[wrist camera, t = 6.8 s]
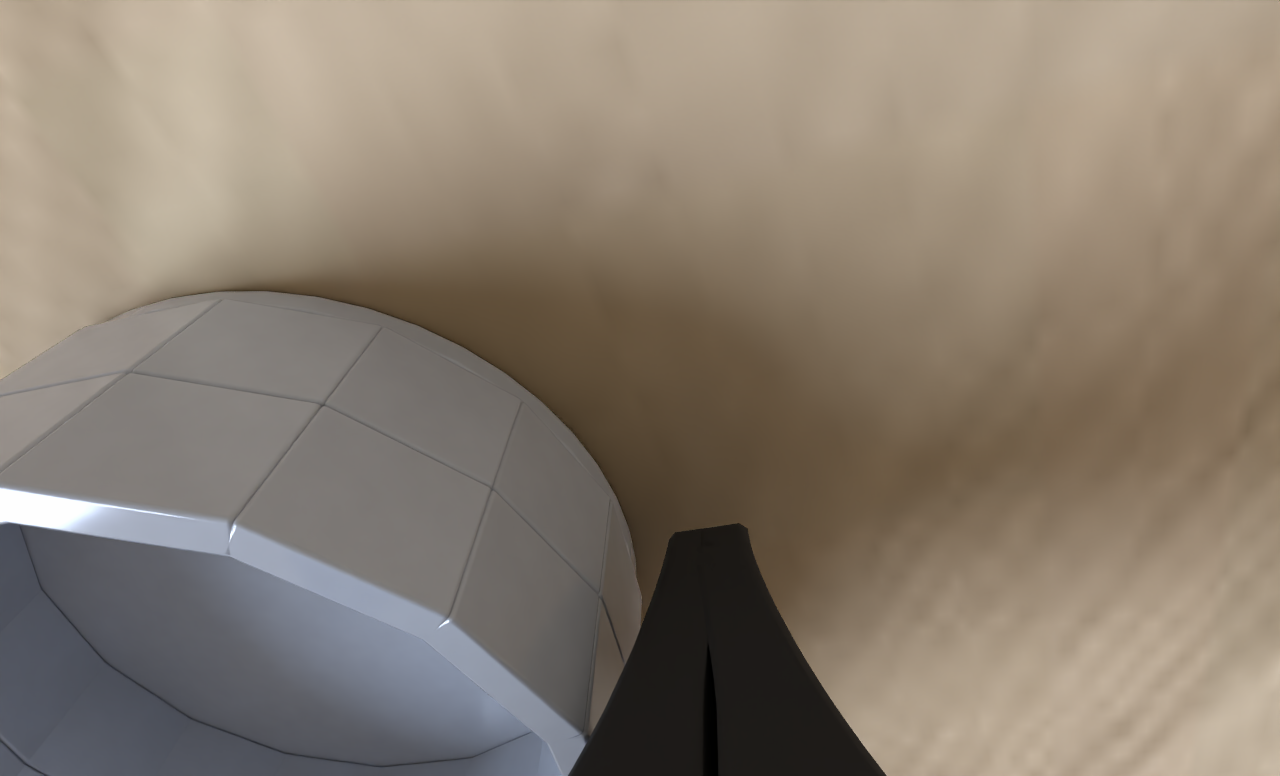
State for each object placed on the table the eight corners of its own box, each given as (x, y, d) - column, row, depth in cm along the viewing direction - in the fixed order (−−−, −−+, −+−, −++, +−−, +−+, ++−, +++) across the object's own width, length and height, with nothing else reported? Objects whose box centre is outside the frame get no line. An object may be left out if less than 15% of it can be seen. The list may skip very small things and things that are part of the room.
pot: (689, 726, 15) (695, 997, 11) (215, 777, 17) (75, 1029, 13) (536, 220, 10) (445, 399, 6) (-140, 362, 11) (-566, 580, 8)
